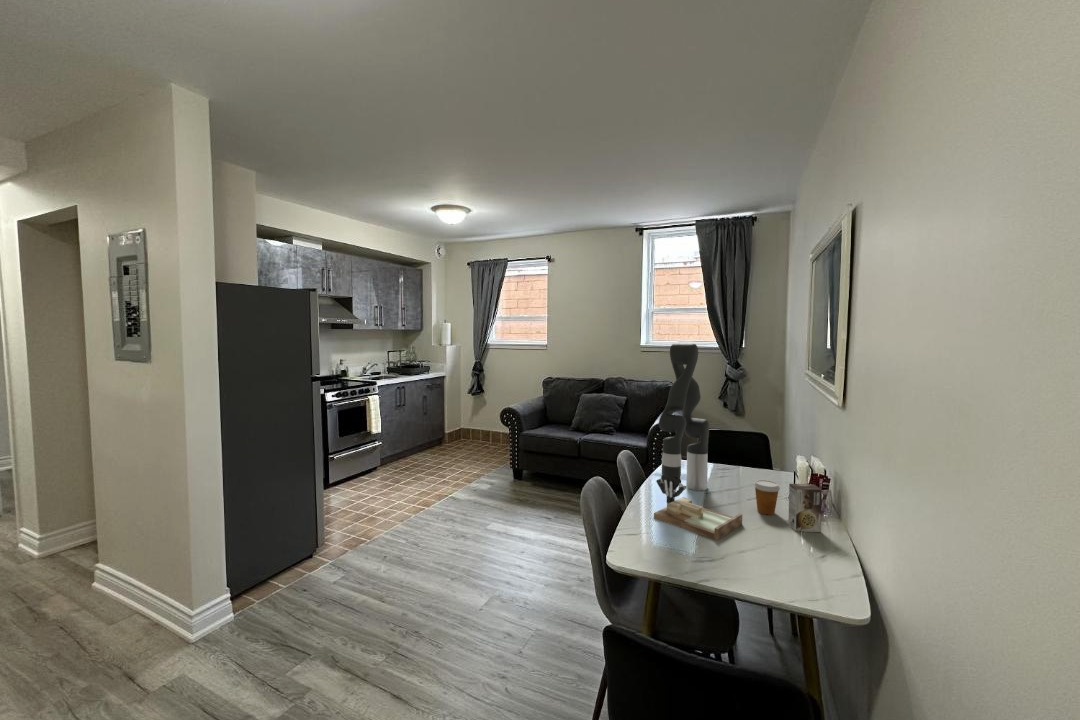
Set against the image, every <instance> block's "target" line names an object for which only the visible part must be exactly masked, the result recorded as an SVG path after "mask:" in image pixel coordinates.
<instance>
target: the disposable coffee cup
mask: <svg viewBox="0 0 1080 720" xmlns="http://www.w3.org/2000/svg"><path fill="white" fill-rule="evenodd" d="M753 486H754V489H755V490H754V491H755V500H756V508H757V509H756V510H757V511H756V512H758V513H760V514H763V515H766V514H768V516H773V515H775V514H774V513H776V509H777V507H776V506H777V502H778V497H779V491H780V485H779V483H777V482H775V481H773V480H767V479H758V480H755V481H754V483H753ZM772 514H773V515H772Z"/></svg>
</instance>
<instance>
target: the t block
mask: <svg viewBox="0 0 1080 720" xmlns="http://www.w3.org/2000/svg"><path fill="white" fill-rule="evenodd" d="M666 507H667V513H669V514H672V515H675V516H676V515H678V514H681V513H682V514H685V515H688V516H691V517H694V518H697V519H698V518H700V517H702V516H703V508H704V506H701V505H697V504H695V503H693V499H691V498H688V497H685V496H683V497H681V498H678V499H675V501H673V502H671V503H668V504H667V503H666Z"/></svg>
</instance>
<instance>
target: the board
mask: <svg viewBox="0 0 1080 720" xmlns="http://www.w3.org/2000/svg"><path fill="white" fill-rule="evenodd" d="M653 518H654V519H657V520H659V521H662V522H665V523H668V524H670V525H674V526H675V527H679V528H681V529H684V530H686V531H687V530H688V531H690V532H693V533H695V534H699V535H701V536H704V537H708V538H710V539H713V540H715V541H718V540H719V539H721V538H723V537H725V536H726V535H727V534H729V533H731V532H733V531H734V530H735V529H737V528H739V527H740V526H742V525H743V513H738V514H737V515H735V516H732V515H729V514H725V513H722V512H720V511H716V510H712V509H710V508H707V507H703V516H702V517H700V518H698V519H697V518H694V517H691V516H688V515H685V514H682V513H681V514H678V515H676V516H675V515H672V514H669V513H667V506H666V507H664V508H662V509H660V510H657V511H655V512H653Z"/></svg>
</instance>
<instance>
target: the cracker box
mask: <svg viewBox="0 0 1080 720" xmlns="http://www.w3.org/2000/svg"><path fill="white" fill-rule="evenodd" d="M822 493H823V489H821V488H819V486H817V485H816V484H814V483H812V484H811V483H789V487H788V518H787V519H788V520H787V521H788V526H789V527H790V528H792V529H793V530H794V531H795V532H800V531H801V532H803V531H804V533H805V532H806V533H807V532H808V533H822V501H823V500H822V497H823V496H822V495H823V494H822Z"/></svg>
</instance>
